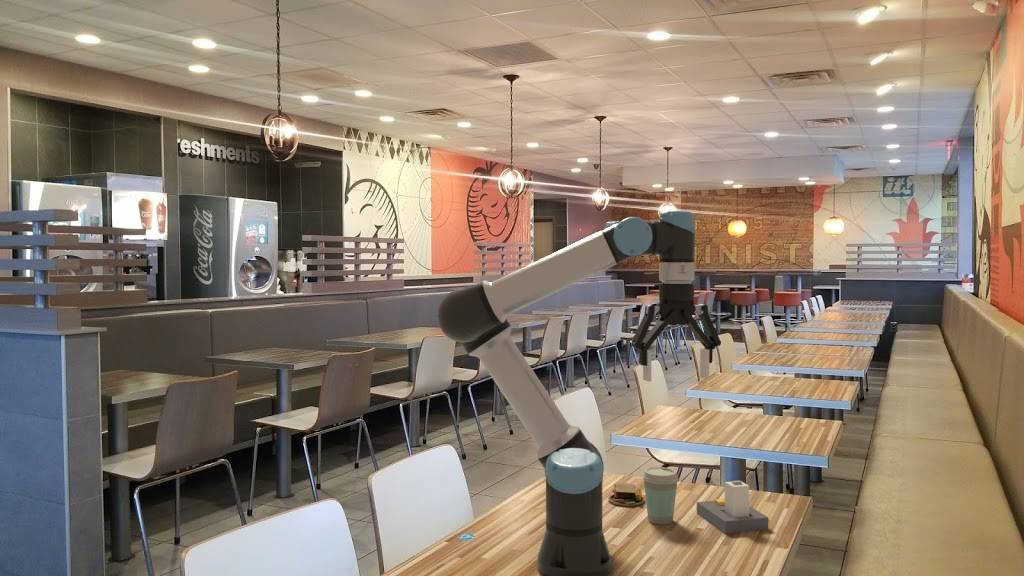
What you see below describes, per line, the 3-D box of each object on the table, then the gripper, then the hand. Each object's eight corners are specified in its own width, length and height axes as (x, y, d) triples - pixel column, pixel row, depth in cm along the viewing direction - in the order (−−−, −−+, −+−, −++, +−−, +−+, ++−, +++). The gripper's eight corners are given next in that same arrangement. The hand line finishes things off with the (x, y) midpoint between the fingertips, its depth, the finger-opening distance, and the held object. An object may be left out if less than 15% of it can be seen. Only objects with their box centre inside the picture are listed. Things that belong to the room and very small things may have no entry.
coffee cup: (678, 527, 174) (679, 477, 173) (641, 525, 176) (641, 475, 175) (678, 515, 182) (678, 467, 182) (642, 513, 184) (642, 465, 183)
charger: (733, 529, 173) (733, 484, 172) (724, 523, 177) (724, 479, 176) (748, 528, 173) (749, 483, 173) (740, 522, 177) (740, 478, 177)
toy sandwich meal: (606, 506, 190) (606, 492, 190) (610, 494, 200) (610, 481, 200) (643, 509, 188) (643, 495, 188) (645, 496, 198) (645, 483, 198)
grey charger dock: (725, 534, 169) (725, 518, 169) (696, 514, 183) (696, 498, 183) (768, 530, 172) (768, 514, 172) (737, 510, 186) (737, 495, 185)
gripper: (629, 283, 155) (629, 384, 156) (737, 282, 161) (736, 379, 162) (616, 282, 162) (616, 378, 163) (720, 281, 168) (719, 374, 169)
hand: (676, 379), depth 162 cm, fingers open, 13 cm apart
